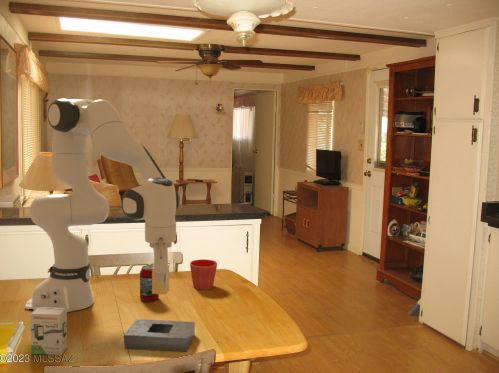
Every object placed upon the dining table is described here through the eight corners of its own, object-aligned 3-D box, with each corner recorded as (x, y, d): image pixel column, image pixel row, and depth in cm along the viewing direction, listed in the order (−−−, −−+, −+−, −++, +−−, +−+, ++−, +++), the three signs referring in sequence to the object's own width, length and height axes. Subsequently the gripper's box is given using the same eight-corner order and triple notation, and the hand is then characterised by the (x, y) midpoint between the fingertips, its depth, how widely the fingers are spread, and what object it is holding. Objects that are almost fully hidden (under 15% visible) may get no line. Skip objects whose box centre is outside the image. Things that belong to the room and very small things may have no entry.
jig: (124, 348, 144) (124, 335, 144) (136, 331, 156) (136, 319, 156) (186, 352, 143) (186, 338, 142) (194, 334, 155) (194, 322, 154)
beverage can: (136, 300, 183) (136, 268, 182) (146, 294, 190) (146, 263, 188) (152, 303, 181) (152, 270, 179) (162, 297, 187) (162, 265, 186)
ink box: (30, 354, 139) (28, 313, 138) (37, 346, 144) (36, 306, 143) (61, 355, 139) (60, 313, 138) (68, 347, 144) (67, 307, 143)
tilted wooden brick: (152, 293, 146) (152, 268, 145) (155, 289, 150) (155, 264, 149) (165, 294, 146) (165, 268, 145) (169, 290, 149) (169, 265, 149)
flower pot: (222, 286, 201) (223, 262, 200) (202, 293, 193) (203, 268, 192) (204, 280, 208) (204, 257, 207) (184, 286, 200) (184, 262, 199)
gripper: (172, 242, 136) (172, 292, 138) (170, 227, 156) (170, 271, 158) (148, 243, 135) (149, 293, 137) (149, 227, 155) (150, 272, 157)
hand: (160, 281), depth 147 cm, fingers closed on tilted wooden brick, 5 cm apart
